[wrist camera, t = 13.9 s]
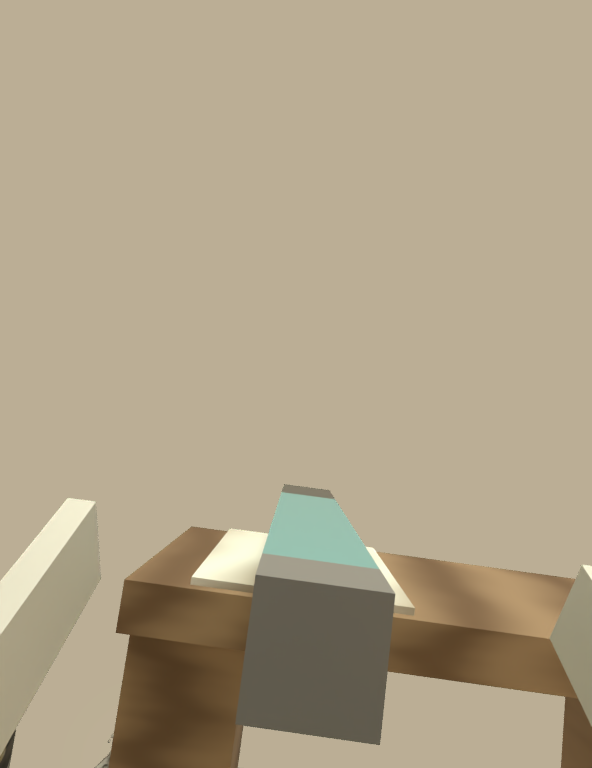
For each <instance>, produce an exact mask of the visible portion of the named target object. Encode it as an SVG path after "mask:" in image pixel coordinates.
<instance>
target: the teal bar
mask: <svg viewBox="0 0 592 768" xmlns="http://www.w3.org/2000/svg"><path fill="white" fill-rule="evenodd" d="M394 603H395V592H394V591H393V589H392V588H391V586H390V584H389V583H388V581H387V580H386V578H385V577H384V575H383V574H382V572H381V570H380V569H379V567H378V566H377V564H376V563H375V561H374V559H373V558H372V556H371V555H370V553H369V552H368V550H367V549H366V547H365V545H364V544H363V542H362V541H361V539H360V538H359V536H358V535H357V533H356V531H355V530H354V528H353V527H352V525H351V524H350V522H349V520H348V519H347V517H346V516H345V514H344V513H343V511H342V510H341V508H340V506H339V505H338V503H337V502H336V500H335V499H334V497H333V495H332V494H331V492H330V491H329V490H323V489H315V488H308V487H300V486H293V485H285V484H284V487H283V490H282V493H281V496H280V499H279V502H278V506H277V509H276V512H275V515H274V518H273V521H272V524H271V527H270V531H269V534H268V537H267V540H266V543H265V546H264V549H263V552H262V556H261V559H260V562H259V565H258V568H257V571H256V574H255V582H254V589H253V596H252V604H251V611H250V619H249V626H248V633H247V641H246V648H245V655H244V663H243V670H242V678H241V685H240V692H239V700H238V707H237V714H236V722H235V724H236V725H243V726H250V727H257V728H264V729H271V730H278V731H285V732H292V733H300V734H306V735H313V736H321V737H327V738H334V739H341V740H349V741H355V742H362V743H369V744H376V745H380V738H381V729H382V719H383V709H384V700H385V689H386V681H387V671H388V661H389V652H390V642H391V632H392V623H393V613H394Z"/></svg>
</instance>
